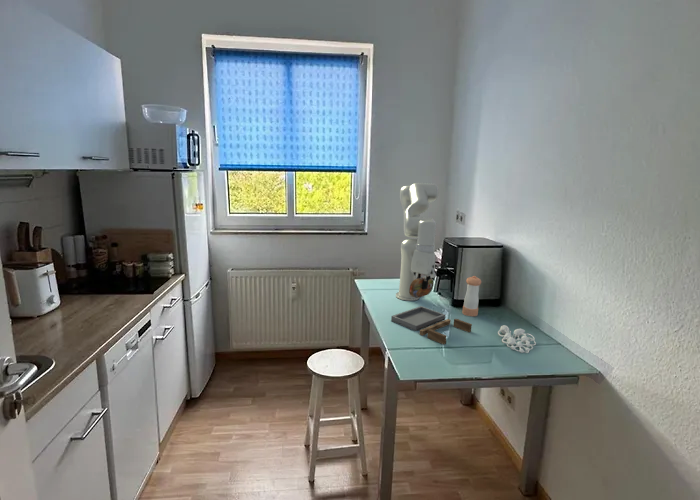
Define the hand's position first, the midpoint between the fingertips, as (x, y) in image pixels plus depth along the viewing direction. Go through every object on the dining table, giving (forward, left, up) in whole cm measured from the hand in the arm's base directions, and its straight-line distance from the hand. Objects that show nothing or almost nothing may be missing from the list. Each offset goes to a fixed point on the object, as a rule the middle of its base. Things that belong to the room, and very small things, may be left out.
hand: (421, 287), depth 184 cm
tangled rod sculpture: (-15, +40, -16) cm, 46 cm away
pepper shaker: (-28, +10, -16) cm, 34 cm away
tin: (0, -1, -4) cm, 4 cm away
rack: (+2, +16, -16) cm, 23 cm away
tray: (0, 0, -16) cm, 16 cm away
